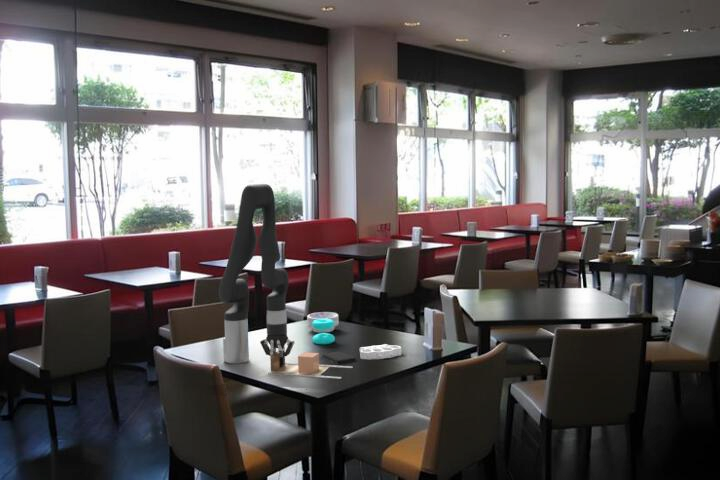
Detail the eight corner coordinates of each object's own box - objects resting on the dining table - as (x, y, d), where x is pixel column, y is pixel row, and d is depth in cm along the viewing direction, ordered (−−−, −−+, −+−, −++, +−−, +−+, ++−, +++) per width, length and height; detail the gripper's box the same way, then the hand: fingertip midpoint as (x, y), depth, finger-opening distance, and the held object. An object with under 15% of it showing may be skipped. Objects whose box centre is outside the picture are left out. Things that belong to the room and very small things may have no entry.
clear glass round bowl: (321, 336, 306) (320, 319, 306) (301, 331, 318) (300, 315, 317) (345, 330, 317) (345, 314, 316) (325, 326, 328) (325, 310, 327)
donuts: (313, 318, 298) (335, 318, 298) (313, 339, 299) (335, 339, 299) (311, 322, 288) (333, 322, 288) (311, 345, 289) (334, 344, 289)
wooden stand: (267, 375, 243) (267, 356, 242) (280, 366, 254) (280, 348, 254) (318, 378, 237) (318, 359, 237) (329, 369, 249) (328, 351, 248)
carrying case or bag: (361, 364, 257) (342, 356, 270) (361, 356, 257) (342, 349, 269) (338, 368, 252) (319, 360, 264) (338, 361, 251) (319, 353, 264)
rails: (268, 377, 241) (268, 373, 241) (284, 366, 256) (284, 362, 256) (340, 382, 233) (340, 377, 233) (352, 370, 248) (352, 366, 248)
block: (298, 372, 243) (298, 356, 242) (304, 367, 248) (303, 352, 248) (313, 373, 241) (313, 357, 240) (319, 368, 247) (318, 353, 246)
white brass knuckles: (390, 349, 280) (407, 357, 267) (352, 354, 273) (367, 363, 259) (390, 341, 280) (407, 349, 267) (352, 346, 272) (367, 354, 259)
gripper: (255, 322, 245) (257, 368, 247) (289, 324, 241) (291, 370, 243) (263, 318, 252) (265, 362, 254) (297, 320, 248) (298, 364, 250)
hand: (278, 366), depth 248 cm, fingers closed on wooden stand, 2 cm apart
